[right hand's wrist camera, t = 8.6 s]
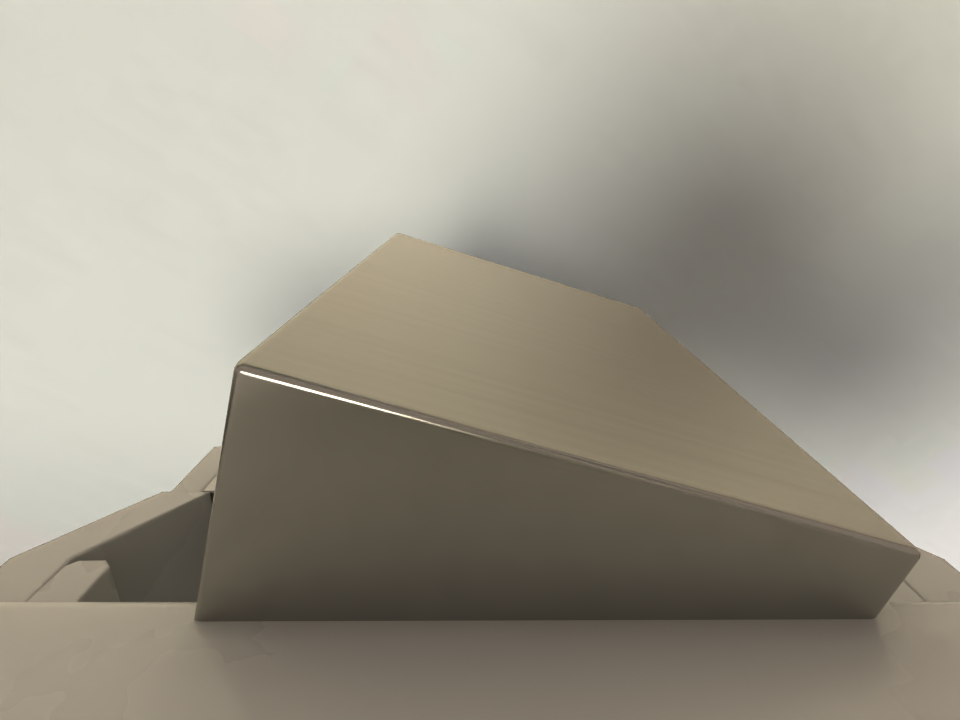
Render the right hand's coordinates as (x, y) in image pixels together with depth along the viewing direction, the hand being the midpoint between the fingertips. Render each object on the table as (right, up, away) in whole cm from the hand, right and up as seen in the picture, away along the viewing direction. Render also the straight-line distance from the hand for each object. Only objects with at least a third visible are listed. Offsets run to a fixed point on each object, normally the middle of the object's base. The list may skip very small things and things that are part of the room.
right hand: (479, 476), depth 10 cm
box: (-2, -5, +5) cm, 8 cm away
